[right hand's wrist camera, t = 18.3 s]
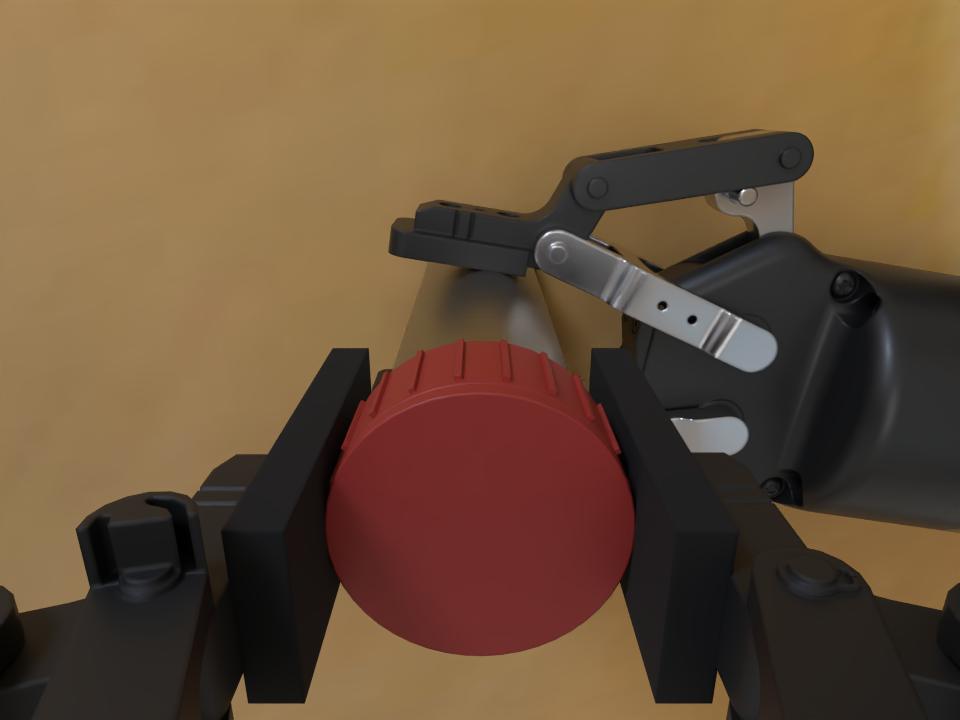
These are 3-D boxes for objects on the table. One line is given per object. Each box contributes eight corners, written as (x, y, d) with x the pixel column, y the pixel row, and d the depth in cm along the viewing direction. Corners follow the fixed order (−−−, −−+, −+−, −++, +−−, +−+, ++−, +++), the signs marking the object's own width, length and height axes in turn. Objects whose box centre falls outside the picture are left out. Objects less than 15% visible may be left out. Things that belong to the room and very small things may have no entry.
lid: (327, 543, 13) (296, 629, 11) (373, 306, 11) (348, 352, 9) (569, 592, 13) (586, 685, 11) (648, 369, 12) (685, 429, 10)
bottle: (555, 277, 26) (659, 511, 11) (479, 347, 27) (478, 649, 12) (481, 199, 25) (482, 339, 10) (404, 275, 26) (300, 507, 11)
